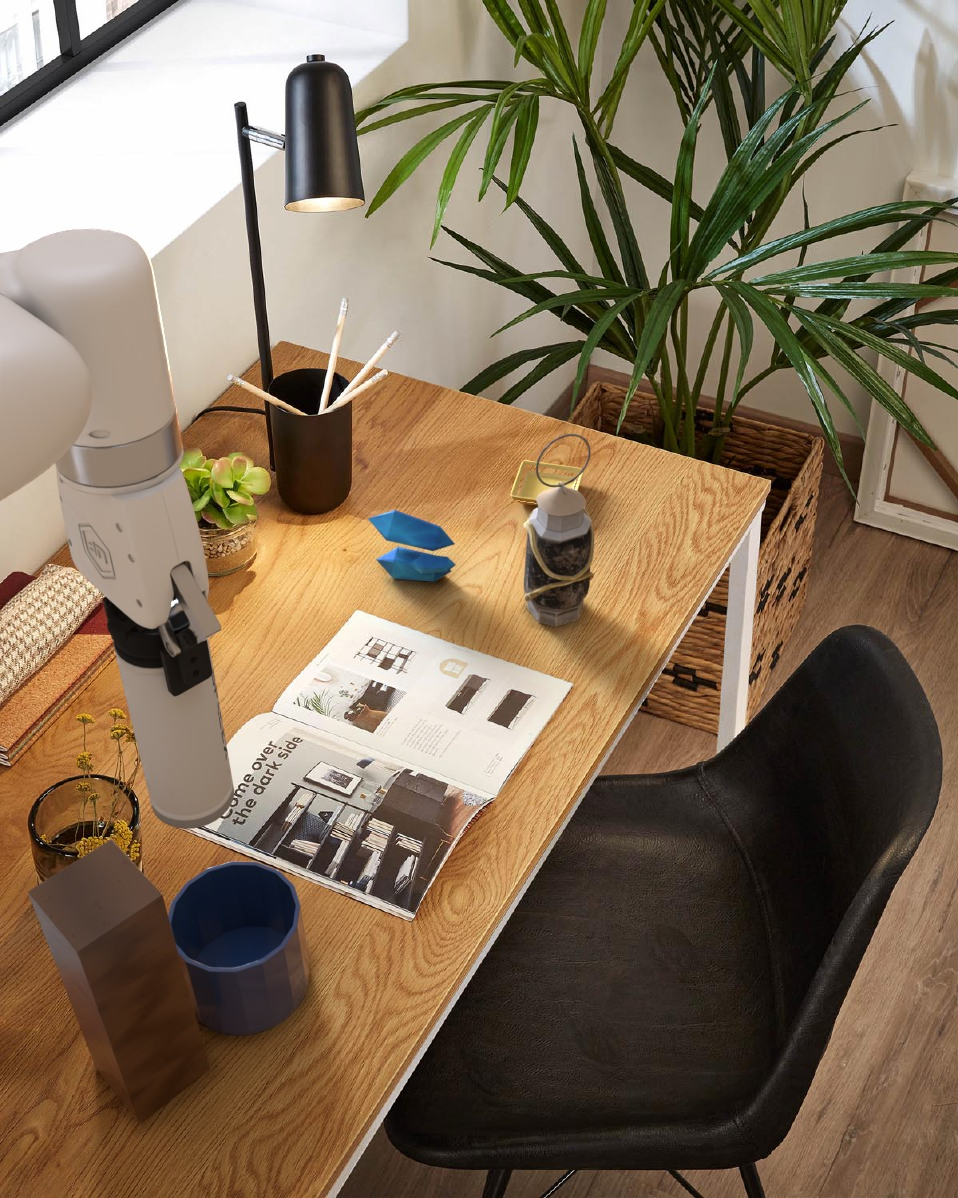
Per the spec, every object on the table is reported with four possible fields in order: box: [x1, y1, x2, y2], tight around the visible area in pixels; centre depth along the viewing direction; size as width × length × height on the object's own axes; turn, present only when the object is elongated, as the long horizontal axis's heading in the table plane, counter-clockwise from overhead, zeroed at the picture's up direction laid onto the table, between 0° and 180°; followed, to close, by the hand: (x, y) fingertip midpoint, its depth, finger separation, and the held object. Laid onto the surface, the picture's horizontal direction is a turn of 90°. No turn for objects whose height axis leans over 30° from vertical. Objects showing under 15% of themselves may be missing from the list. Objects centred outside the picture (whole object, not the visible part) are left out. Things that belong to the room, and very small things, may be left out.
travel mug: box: [106, 595, 235, 830], centre depth 91 cm, size 6×7×20 cm
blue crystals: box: [367, 509, 457, 583], centre depth 156 cm, size 7×9×12 cm
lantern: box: [522, 433, 595, 628], centre depth 146 cm, size 9×8×25 cm
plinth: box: [27, 839, 211, 1125], centre depth 101 cm, size 7×7×25 cm
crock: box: [167, 860, 311, 1037], centre depth 112 cm, size 11×11×10 cm
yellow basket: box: [509, 459, 585, 507], centre depth 171 cm, size 9×9×2 cm
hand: (161, 656), depth 87 cm, fingers closed on travel mug, 6 cm apart
